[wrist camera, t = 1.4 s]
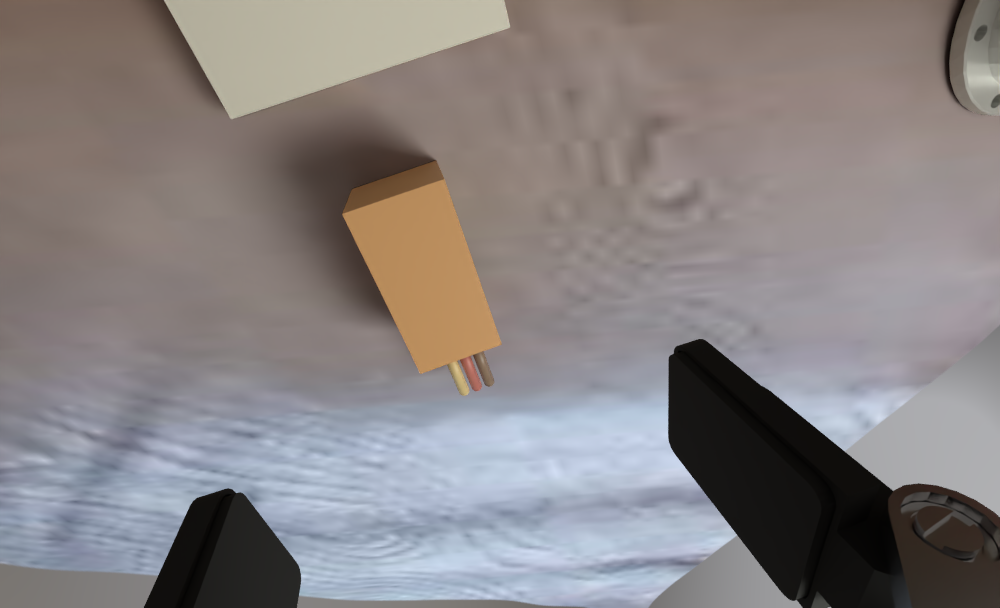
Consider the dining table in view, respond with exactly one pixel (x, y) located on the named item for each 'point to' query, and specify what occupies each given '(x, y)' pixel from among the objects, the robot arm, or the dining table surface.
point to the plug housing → (425, 271)
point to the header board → (319, 41)
